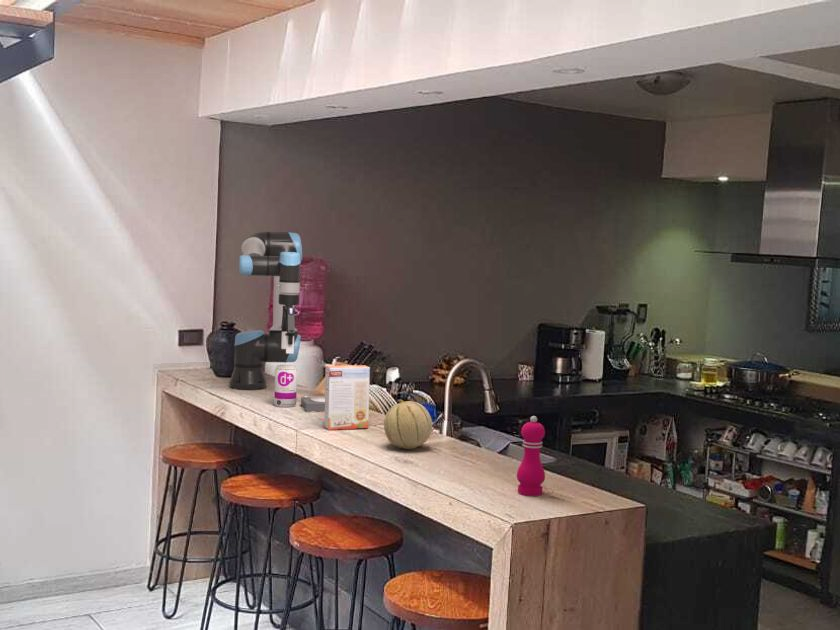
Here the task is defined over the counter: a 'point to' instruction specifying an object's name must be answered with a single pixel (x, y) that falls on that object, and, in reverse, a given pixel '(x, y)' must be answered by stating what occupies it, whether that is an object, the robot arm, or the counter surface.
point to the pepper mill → (531, 459)
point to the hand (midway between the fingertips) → (287, 351)
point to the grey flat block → (313, 403)
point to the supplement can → (285, 386)
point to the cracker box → (346, 397)
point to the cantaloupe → (407, 424)
